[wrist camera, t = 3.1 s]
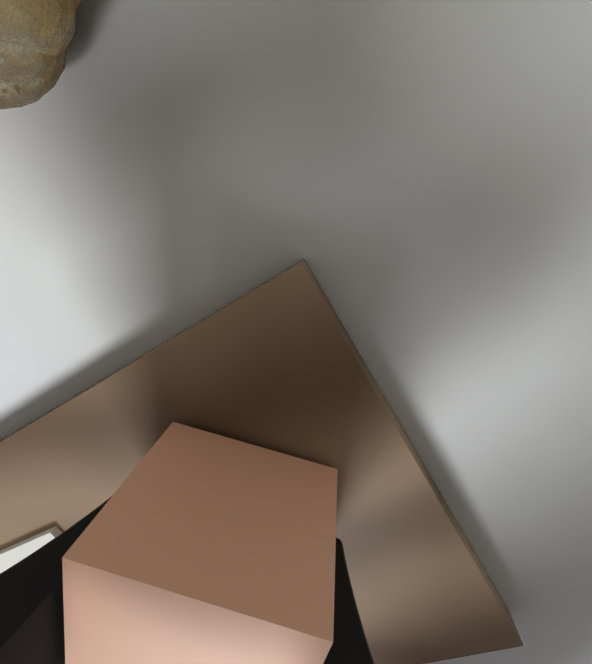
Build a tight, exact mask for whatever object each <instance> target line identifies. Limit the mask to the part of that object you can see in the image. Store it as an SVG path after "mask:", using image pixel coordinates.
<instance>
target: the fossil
mask: <svg viewBox="0 0 592 664" xmlns="http://www.w3.org/2000/svg"><path fill="white" fill-rule="evenodd" d="M80 2H81V0H0V109H7V108H15V107H22V106H24V105H27V104H30V103H33V102H36V101H37V100H39V99H40V98H41V97H42V96H43V95H44V94H46V93H47V92H48V91H49V90H50V89H52V88H53V87H54V86H55V84H56V82H57V81H58V79H59V77H60V75H61V74H62V72H63V70H64V68H65V61H66V48H67V46H68V45H69V43H70V41H71V40H72V38H73V36H74V32H75V29H76V9H77V7H78V5H79V3H80Z"/></svg>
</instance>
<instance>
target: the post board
mask: <svg viewBox="0 0 592 664" xmlns="http://www.w3.org/2000/svg"><path fill="white" fill-rule="evenodd" d="M172 422H176V423H179V424H182V425H186V426H189V427H193V428H196V429H200V430H203V431H207V432H210V433H214V434H217V435H221V436H224V437H228V438H231V439H235V440H238V441H242V442H245V443H249V444H252V445H255V446H259V447H262V448H266V449H269V450H273V451H276V452H280V453H283V454H287V455H290V456H294V457H297V458H301V459H304V460H308V461H311V462H315V463H318V464H322V465H325V466H329V467H332V468H335V469H338V471H337V511H336V538H338V539H340V540H341V541H342V543H343V549H344V554H345V560H346V564H347V569H348V573H349V578H350V582H351V586H352V590H353V594H354V598H355V601H356V605H357V609H358V612H359V616H360V619H361V622H362V626H363V629H364V633H365V636H366V639H367V643H368V646H369V649H370V652H371V655H372V658H373V661H374V664H425V663H430V662H436V661H441V660H447V659H452V658H458V657H463V656H469V655H474V654H480V653H485V652H491V651H496V650H502V649H507V648H513V647H518V646H523V644H522V641H521V639H520V636H519V634H518V631H517V629H516V627H515V624H514V622H513V619H512V617H511V615H510V613H509V611H508V610H507V608H506V606H505V604H504V603H503V601H502V599H501V597H500V596H499V594H498V592H497V591H496V589H495V587H494V585H493V584H492V582H491V580H490V578H489V577H488V575H487V573H486V572H485V570H484V568H483V566H482V565H481V563H480V561H479V559H478V558H477V556H476V554H475V553H474V551H473V549H472V547H471V546H470V544H469V542H468V540H467V539H466V537H465V535H464V534H463V532H462V530H461V528H460V527H459V525H458V523H457V521H456V520H455V518H454V516H453V515H452V513H451V511H450V509H449V508H448V506H447V504H446V502H445V501H444V499H443V497H442V496H441V494H440V492H439V490H438V489H437V487H436V485H435V483H434V482H433V480H432V478H431V477H430V475H429V473H428V471H427V470H426V468H425V466H424V464H423V463H422V461H421V459H420V458H419V456H418V454H417V452H416V451H415V449H414V447H413V445H412V444H411V442H410V440H409V439H408V437H407V435H406V433H405V432H404V430H403V428H402V426H401V425H400V423H399V421H398V420H397V418H396V416H395V414H394V413H393V411H392V409H391V407H390V406H389V404H388V402H387V401H386V399H385V397H384V395H383V394H382V392H381V390H380V388H379V387H378V385H377V383H376V382H375V380H374V378H373V376H372V375H371V373H370V371H369V369H368V368H367V366H366V364H365V363H364V361H363V359H362V357H361V356H360V354H359V352H358V350H357V349H356V347H355V345H354V344H353V342H352V340H351V338H350V337H349V335H348V333H347V331H346V330H345V328H344V326H343V325H342V323H341V321H340V319H339V318H338V316H337V314H336V312H335V311H334V309H333V307H332V306H331V304H330V302H329V300H328V299H327V297H326V295H325V293H324V292H323V290H322V288H321V287H320V285H319V283H318V281H317V280H316V278H315V276H314V274H313V273H312V271H311V269H310V268H309V266H308V264H307V262H306V261H305V259H303V260H302V261H300V262H298V263H297V264H295V265H293V266H292V267H290V268H288V269H287V270H285V271H283V272H282V273H280V274H278V275H277V276H275V277H273V278H272V279H270V280H268V281H267V282H265V283H263V284H262V285H260V286H258V287H257V288H255V289H253V290H252V291H250V292H248V293H247V294H245V295H243V296H242V297H240V298H238V299H237V300H235V301H233V302H232V303H230V304H228V305H227V306H225V307H223V308H222V309H220V310H218V311H217V312H215V313H213V314H212V315H210V316H208V317H207V318H205V319H203V320H201V321H200V322H198V323H196V324H195V325H193V326H191V327H190V328H188V329H186V330H185V331H183V332H181V333H180V334H178V335H176V336H175V337H173V338H171V339H170V340H168V341H166V342H165V343H163V344H161V345H160V346H158V347H156V348H155V349H153V350H151V351H150V352H148V353H146V354H145V355H143V356H141V357H140V358H138V359H136V360H135V361H133V362H131V363H130V364H128V365H126V366H125V367H123V368H121V369H120V370H118V371H116V372H115V373H113V374H111V375H110V376H108V377H106V378H105V379H103V380H101V381H100V382H98V383H96V384H95V385H93V386H91V387H90V388H88V389H86V390H85V391H83V392H81V393H79V394H78V395H76V396H74V397H73V398H71V399H69V400H68V401H66V402H64V403H63V404H61V405H59V406H58V407H56V408H54V409H53V410H51V411H49V412H48V413H46V414H44V415H43V416H41V417H39V418H38V419H36V420H34V421H33V422H31V423H29V424H28V425H26V426H24V427H23V428H21V429H19V430H18V431H16V432H14V433H13V434H11V435H9V436H8V437H6V438H4V439H3V440H1V441H0V551H1V550H3V549H5V548H8V547H10V546H12V545H14V544H17V543H19V542H21V541H23V540H26V539H28V538H30V537H32V536H35V535H37V534H39V533H41V532H44V531H46V530H48V529H50V528H53V527H55V526H56V527H57V528H58V529H59V530H60V531H61V532H62V533H63V532H64V531H66V530H67V529H68V528H70V527H71V526H73V525H74V524H75V523H77V522H78V521H79V520H81V519H82V518H84V517H85V516H86V515H88V514H89V513H90V512H92V511H93V510H94V509H96V508H97V507H98V506H100V505H101V504H102V503H104V502H105V501H106V500H107V499H109V498H110V497H111V496H113V495H114V493H115V492H116V491H117V490H118V489H119V487H120V486H121V485H122V484H123V482H124V481H125V480H126V479H127V477H128V476H129V475H130V474H131V473H132V471H133V470H134V469H135V468H136V466H137V465H138V464H139V463H140V462H141V460H142V459H143V458H144V457H145V455H146V454H147V453H148V452H149V451H150V449H151V448H152V447H153V446H154V444H155V443H156V442H157V441H158V440H159V438H160V437H161V436H162V435H163V433H164V432H165V431H166V430H167V428H168V427H169V426H170V425H171V424H172Z"/></svg>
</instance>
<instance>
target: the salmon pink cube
mask: <svg viewBox="0 0 592 664" xmlns="http://www.w3.org/2000/svg"><path fill="white" fill-rule="evenodd" d="M337 471H338V469H335V468H332V467H329V466H325V465H322V464H318V463H315V462H311V461H308V460H304V459H301V458H297V457H294V456H290V455H287V454H283V453H280V452H276V451H273V450H269V449H266V448H262V447H259V446H255V445H252V444H249V443H245V442H242V441H238V440H235V439H231V438H228V437H224V436H221V435H217V434H214V433H210V432H207V431H203V430H200V429H196V428H193V427H189V426H186V425H182V424H179V423H176V422H172V424H171V425H170V426H169V427H168V428H167V430H166V431H165V432H164V433H163V435H162V436H161V437H160V438H159V440H158V441H157V442H156V443H155V444H154V446H153V447H152V448H151V449H150V451H149V452H148V453H147V454H146V455H145V457H144V458H143V459H142V460H141V462H140V463H139V464H138V465H137V466H136V468H135V469H134V470H133V471H132V473H131V474H130V475H129V476H128V477H127V479H126V480H125V481H124V482H123V484H122V485H121V486H120V487H119V489H118V490H117V491H116V492H115V493H114V495H113V496H112V497H111V498H110V500H109V501H108V502H107V503H106V504H105V506H104V507H103V508H102V509H101V511H100V512H99V513H98V514H97V515H96V517H95V518H94V519H93V520H92V522H91V523H90V524H89V525H88V527H87V528H86V529H85V530H84V531H83V533H82V534H81V535H80V536H79V538H78V539H77V540H76V541H75V542H74V544H73V545H72V546H71V547H70V549H69V550H68V551H67V552H66V553H65V555H64V556H63V557H62V572H63V605H64V638H65V664H323V663H324V661H325V659H326V657H327V654H328V652H329V650H330V648H331V646H332V644H333V631H334V591H335V551H336V511H337Z"/></svg>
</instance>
